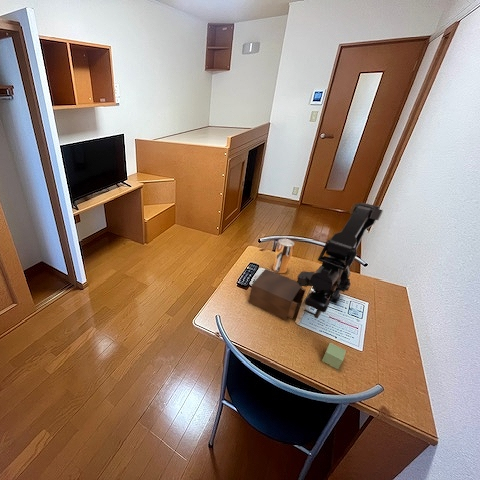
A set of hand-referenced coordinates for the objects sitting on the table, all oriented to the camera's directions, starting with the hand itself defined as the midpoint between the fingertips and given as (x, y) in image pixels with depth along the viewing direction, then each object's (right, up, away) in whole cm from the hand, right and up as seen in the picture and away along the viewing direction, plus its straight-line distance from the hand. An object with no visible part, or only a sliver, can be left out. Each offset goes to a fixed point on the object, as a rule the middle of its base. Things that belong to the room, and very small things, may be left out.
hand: (316, 308), depth 92 cm
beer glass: (0, +11, +30) cm, 31 cm away
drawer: (-5, -2, +7) cm, 9 cm away
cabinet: (-11, -1, +12) cm, 16 cm away
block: (-2, -14, -11) cm, 17 cm away
